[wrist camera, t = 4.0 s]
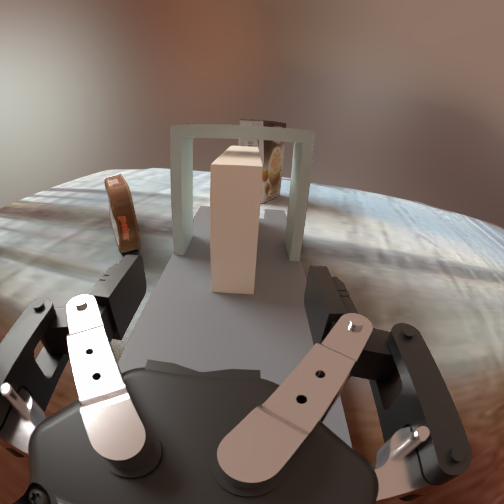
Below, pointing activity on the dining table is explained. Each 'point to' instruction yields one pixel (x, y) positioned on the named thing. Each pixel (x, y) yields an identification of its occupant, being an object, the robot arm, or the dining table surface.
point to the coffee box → (267, 158)
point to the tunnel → (185, 133)
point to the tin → (122, 214)
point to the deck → (229, 314)
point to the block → (235, 219)
